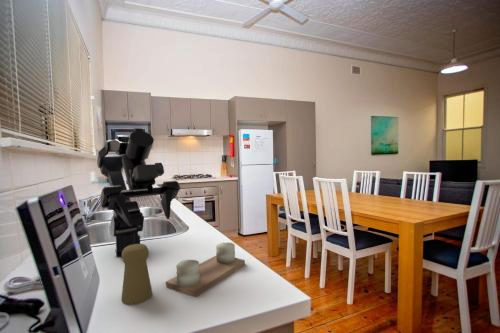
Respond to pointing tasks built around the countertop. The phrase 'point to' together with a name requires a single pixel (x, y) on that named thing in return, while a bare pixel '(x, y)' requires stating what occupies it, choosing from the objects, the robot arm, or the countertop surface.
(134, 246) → the olive pepper mill
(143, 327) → the countertop surface
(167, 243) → the countertop surface
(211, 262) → the spice board
